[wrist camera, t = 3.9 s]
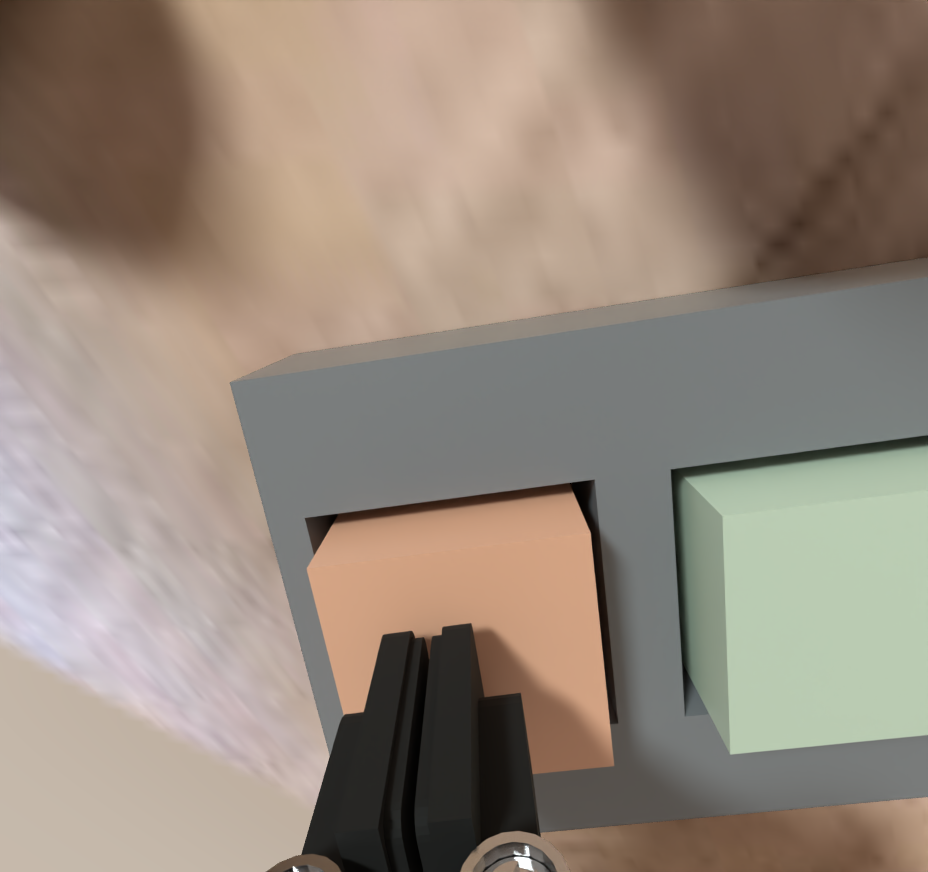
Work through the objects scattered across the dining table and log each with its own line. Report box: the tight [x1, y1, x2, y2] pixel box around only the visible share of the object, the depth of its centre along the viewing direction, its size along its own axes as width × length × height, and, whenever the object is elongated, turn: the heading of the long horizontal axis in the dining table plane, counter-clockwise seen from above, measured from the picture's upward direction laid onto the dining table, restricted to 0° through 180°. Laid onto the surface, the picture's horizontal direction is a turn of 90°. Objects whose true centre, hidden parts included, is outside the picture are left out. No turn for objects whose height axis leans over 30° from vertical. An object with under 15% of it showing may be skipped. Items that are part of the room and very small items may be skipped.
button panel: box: [230, 257, 928, 833], centre depth 14 cm, size 23×12×4 cm, turn 99°
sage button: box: [671, 436, 928, 755], centre depth 12 cm, size 5×5×4 cm
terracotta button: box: [307, 483, 614, 774], centre depth 13 cm, size 5×5×4 cm
